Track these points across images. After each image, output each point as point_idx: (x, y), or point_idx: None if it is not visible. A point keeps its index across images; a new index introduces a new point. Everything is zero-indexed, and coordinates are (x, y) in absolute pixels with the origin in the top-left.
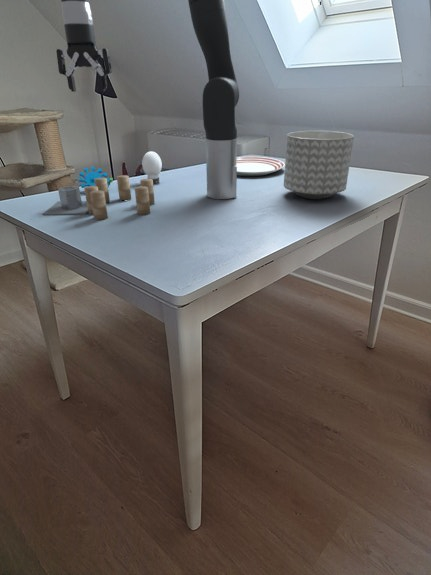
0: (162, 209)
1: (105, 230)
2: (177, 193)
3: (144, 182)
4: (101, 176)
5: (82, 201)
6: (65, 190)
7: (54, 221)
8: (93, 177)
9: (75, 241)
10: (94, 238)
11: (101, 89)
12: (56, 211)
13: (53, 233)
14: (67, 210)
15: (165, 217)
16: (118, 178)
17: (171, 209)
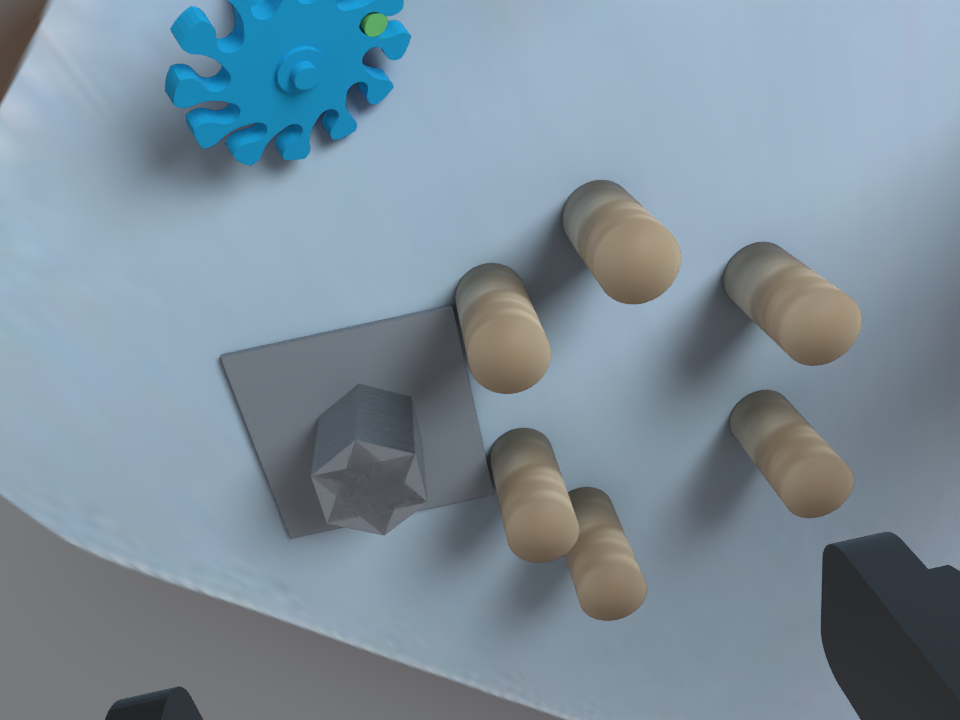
0: None
1: (654, 615)
2: (913, 10)
3: (812, 362)
4: (336, 9)
5: (369, 332)
6: (382, 530)
7: (400, 584)
8: (297, 79)
9: (590, 705)
10: (642, 675)
11: (844, 678)
12: None
13: (476, 674)
14: None
15: (865, 449)
16: (617, 300)
17: (886, 342)
